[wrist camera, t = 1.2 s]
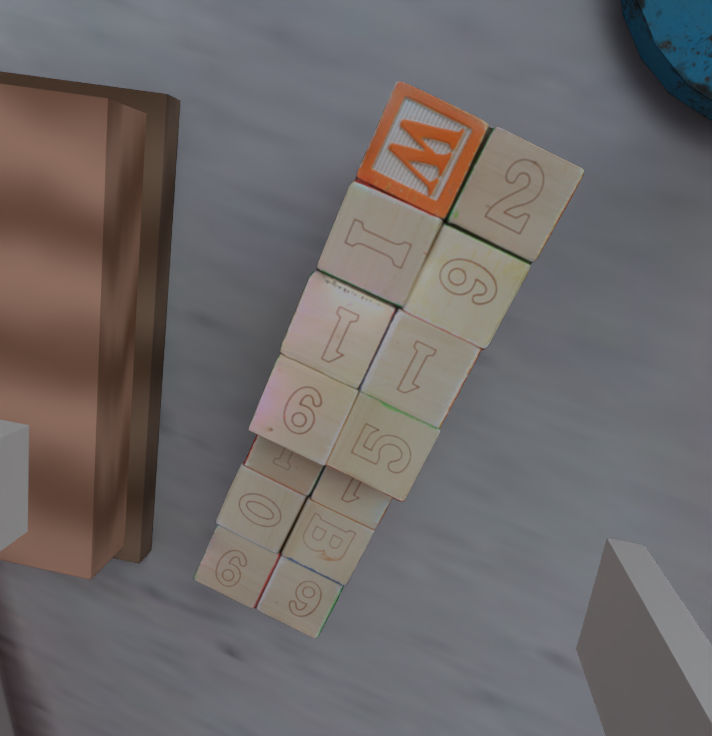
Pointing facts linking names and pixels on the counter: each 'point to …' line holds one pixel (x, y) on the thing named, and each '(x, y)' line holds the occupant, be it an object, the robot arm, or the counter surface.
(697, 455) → the counter surface
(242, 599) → the stack of blocks
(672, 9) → the desk lamp
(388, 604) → the counter surface
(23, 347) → the base brick
